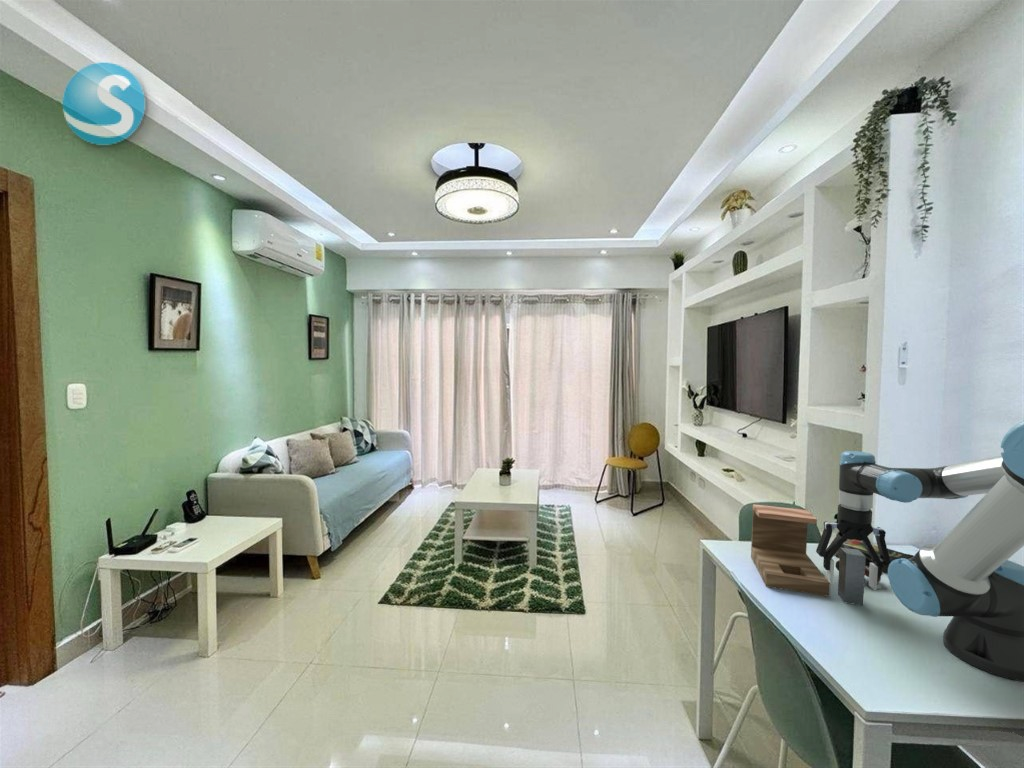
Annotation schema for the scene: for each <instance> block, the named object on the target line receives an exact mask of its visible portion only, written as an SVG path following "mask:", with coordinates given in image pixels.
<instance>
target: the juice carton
mask: <svg viewBox="0 0 1024 768" xmlns="http://www.w3.org/2000/svg"><path fill="white" fill-rule="evenodd" d="M871 545H872V546H873V548H874V550H875V552H876V553H877V555H878V557H879V559H881V557H880V553H879V549H878V546H877V544H873V543H871ZM840 548H848V549H856V550H859V551H860V552H861V553H863V554H864V555H865V556H866V557H867V558H869V559H871V560H872V558H871V556H870V555H869V553H868V551H867V549H866V547H865V546H864V544H863V542H862V541H858V540H849V539H847V541H846V542H844V543H843V544H842V545H841V547H840ZM840 548H839V549H838V551H837V552H836V553H835V555H834V556H833V557H835V556H836V558H838V557H839V558H840ZM887 550H888V554H889V558H890V562H892V561H893V560H896V559H900V558H905V559H910V558H912V557H913V556H914V555H912V554H909V553H904V552H900V551H897V550H893V549H891V548H888V547H887ZM872 561H873V560H872ZM865 567H866V568H868V569H869V568H870V565H869V564H866V563H865ZM888 567H889V566H887V565H884V568H882V573H885V574H887V575H888Z"/></svg>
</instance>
